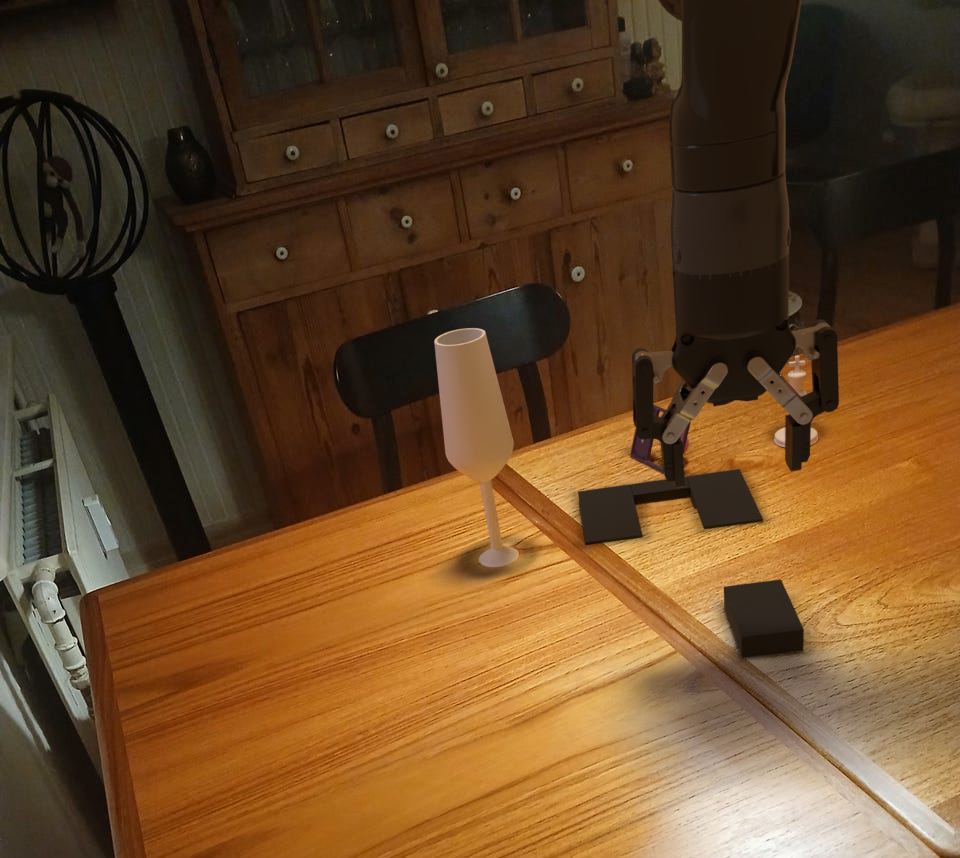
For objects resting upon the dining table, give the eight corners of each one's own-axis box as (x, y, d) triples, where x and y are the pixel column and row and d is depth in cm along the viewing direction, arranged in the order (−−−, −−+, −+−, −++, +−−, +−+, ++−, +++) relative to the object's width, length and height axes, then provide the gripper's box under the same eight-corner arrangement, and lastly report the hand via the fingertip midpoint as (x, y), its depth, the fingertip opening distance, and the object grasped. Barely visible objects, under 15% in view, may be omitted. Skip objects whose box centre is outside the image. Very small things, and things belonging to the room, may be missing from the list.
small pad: (781, 607, 88) (781, 579, 86) (803, 659, 81) (804, 629, 80) (724, 614, 88) (723, 586, 87) (741, 666, 82) (741, 637, 80)
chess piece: (820, 446, 113) (822, 361, 107) (775, 450, 114) (775, 366, 108) (815, 429, 117) (818, 346, 111) (772, 432, 118) (772, 351, 112)
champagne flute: (472, 550, 106) (429, 330, 93) (534, 545, 105) (499, 320, 92) (464, 583, 101) (418, 353, 87) (529, 577, 99) (492, 344, 86)
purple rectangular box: (636, 400, 116) (683, 420, 109) (671, 401, 118) (719, 421, 111) (624, 455, 118) (669, 478, 112) (659, 456, 121) (705, 478, 114)
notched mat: (740, 478, 110) (739, 468, 109) (763, 529, 100) (763, 518, 99) (579, 500, 112) (577, 491, 111) (586, 552, 102) (584, 542, 101)
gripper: (824, 222, 67) (818, 441, 76) (616, 257, 69) (634, 468, 78) (857, 247, 61) (846, 483, 70) (627, 285, 63) (645, 511, 72)
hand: (735, 475), depth 74 cm, fingers open, 8 cm apart
